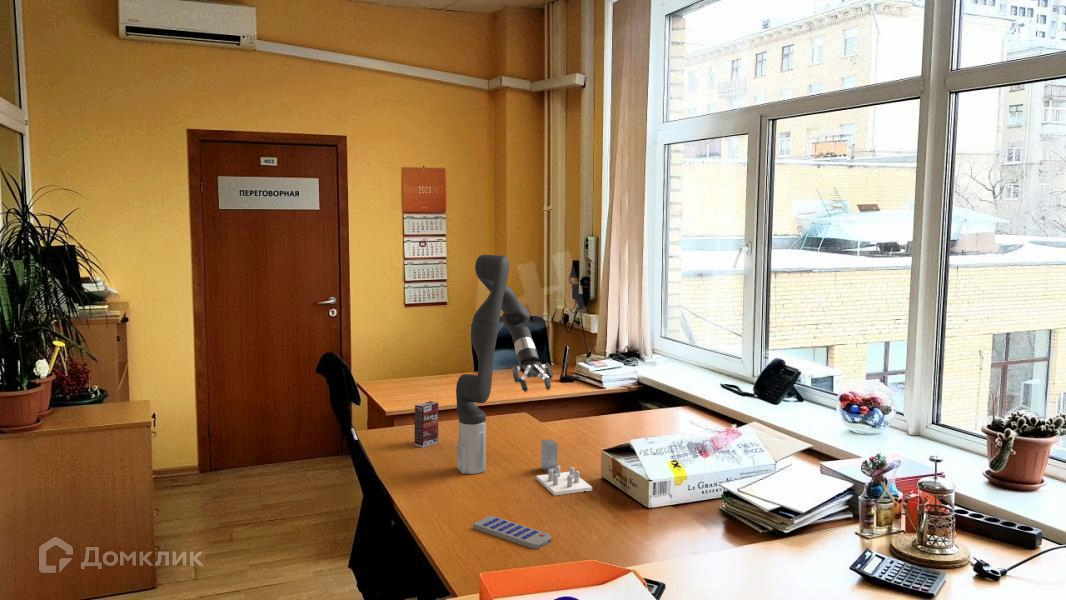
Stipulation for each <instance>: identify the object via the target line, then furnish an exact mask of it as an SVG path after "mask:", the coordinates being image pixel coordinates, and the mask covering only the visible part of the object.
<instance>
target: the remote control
mask: <svg viewBox="0 0 1066 600" xmlns="http://www.w3.org/2000/svg"><path fill="white" fill-rule="evenodd" d="M472 529H474V530H477V531H480V532H483V533H485V534H488V535H492V536H494V537H497V538H501V539H503V540H506V541H509V542H513V543H515V544H518V545H521V546H524V547H527V548H530V549H535V550H536V549H541V548H543V547H544V546H547V545H548V544H550V543H552V535H550V533H547V532H544V531H541V530H538V529H535V528H531V527H529V526H525V525H522V524H519V523H516V522H513V521H510V520H507V519H504V518H502V517H501V518H500V517H498V516H494V515H493V514H492V515H488V516H487V517H484V518H482V519H479V521H476V522H474V523H472Z"/></svg>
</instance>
